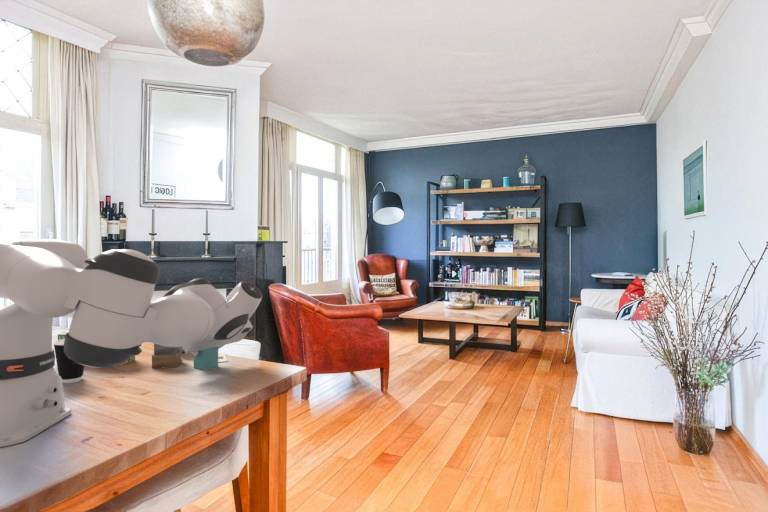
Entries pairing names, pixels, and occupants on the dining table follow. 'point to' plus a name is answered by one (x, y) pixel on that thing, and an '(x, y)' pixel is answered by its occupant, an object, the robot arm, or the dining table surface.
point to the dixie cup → (67, 364)
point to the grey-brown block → (166, 356)
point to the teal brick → (207, 359)
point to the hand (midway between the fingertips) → (204, 352)
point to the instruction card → (222, 358)
